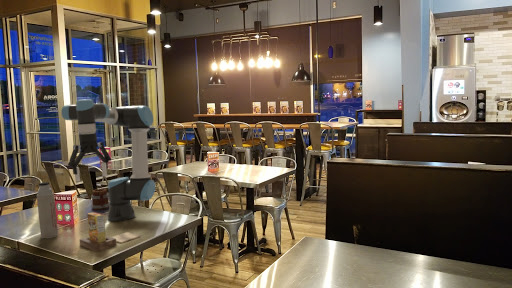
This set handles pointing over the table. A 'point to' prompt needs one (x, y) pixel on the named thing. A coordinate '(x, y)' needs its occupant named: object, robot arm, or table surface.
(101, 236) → the candy box
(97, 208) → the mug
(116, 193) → the robot arm
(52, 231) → the thermos bottle
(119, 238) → the plate
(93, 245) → the collar
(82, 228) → the table surface
